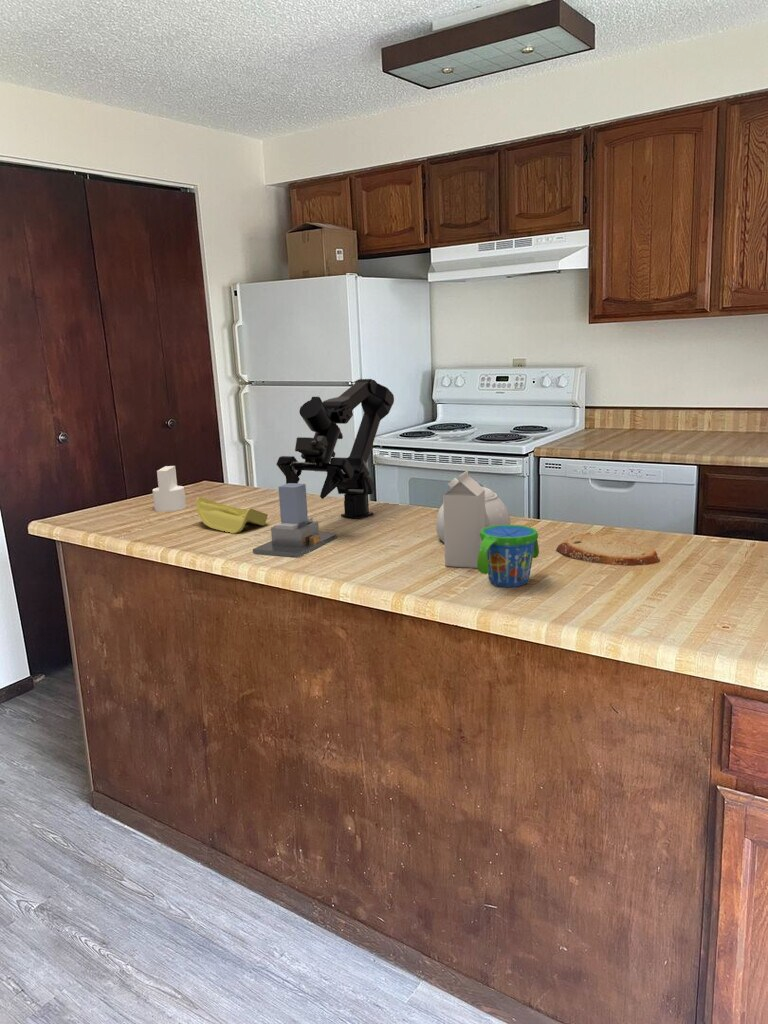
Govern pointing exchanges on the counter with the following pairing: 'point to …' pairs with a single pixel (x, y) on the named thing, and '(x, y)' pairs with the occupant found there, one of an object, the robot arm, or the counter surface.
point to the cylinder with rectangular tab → (168, 491)
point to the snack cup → (507, 554)
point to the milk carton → (463, 521)
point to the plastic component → (227, 516)
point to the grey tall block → (293, 506)
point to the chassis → (295, 541)
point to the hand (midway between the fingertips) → (304, 497)
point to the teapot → (493, 513)
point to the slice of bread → (607, 550)
